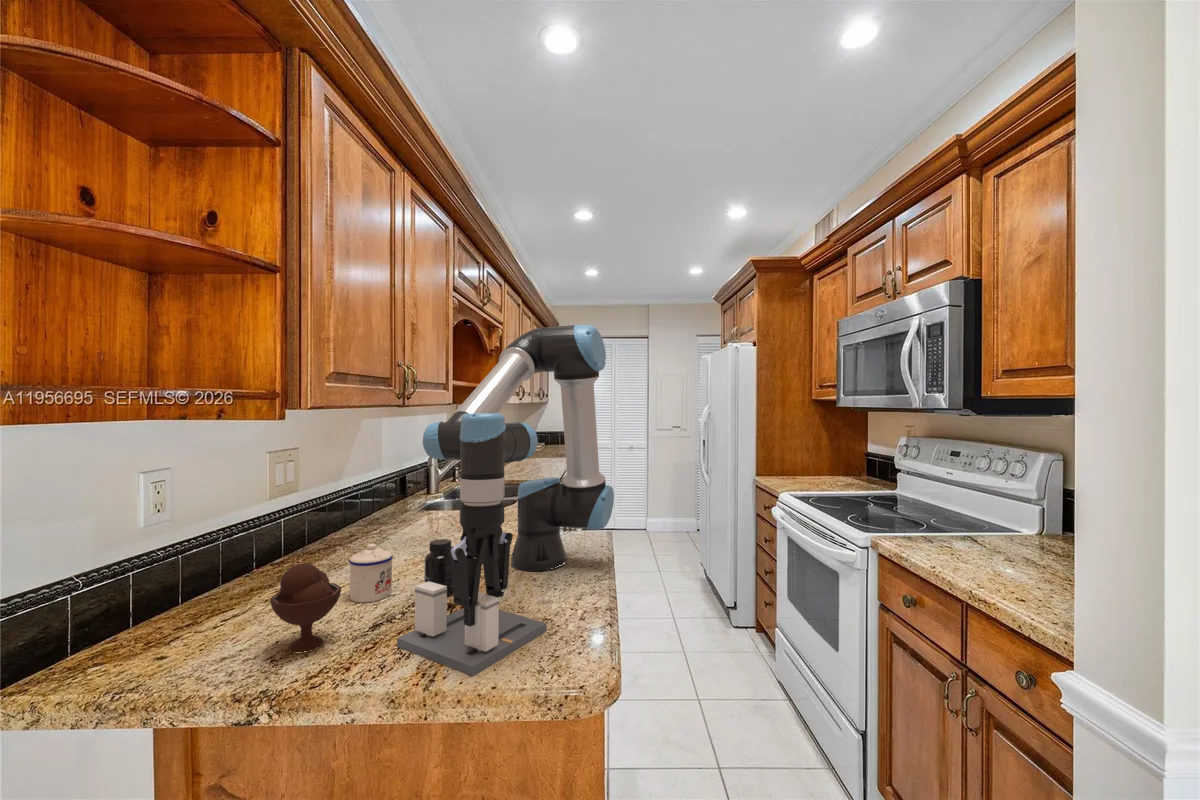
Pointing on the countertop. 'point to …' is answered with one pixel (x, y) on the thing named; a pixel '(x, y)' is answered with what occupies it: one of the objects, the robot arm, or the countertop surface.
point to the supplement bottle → (439, 564)
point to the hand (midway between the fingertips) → (481, 638)
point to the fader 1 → (431, 608)
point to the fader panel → (466, 658)
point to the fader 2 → (487, 622)
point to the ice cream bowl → (305, 602)
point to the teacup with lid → (370, 574)
